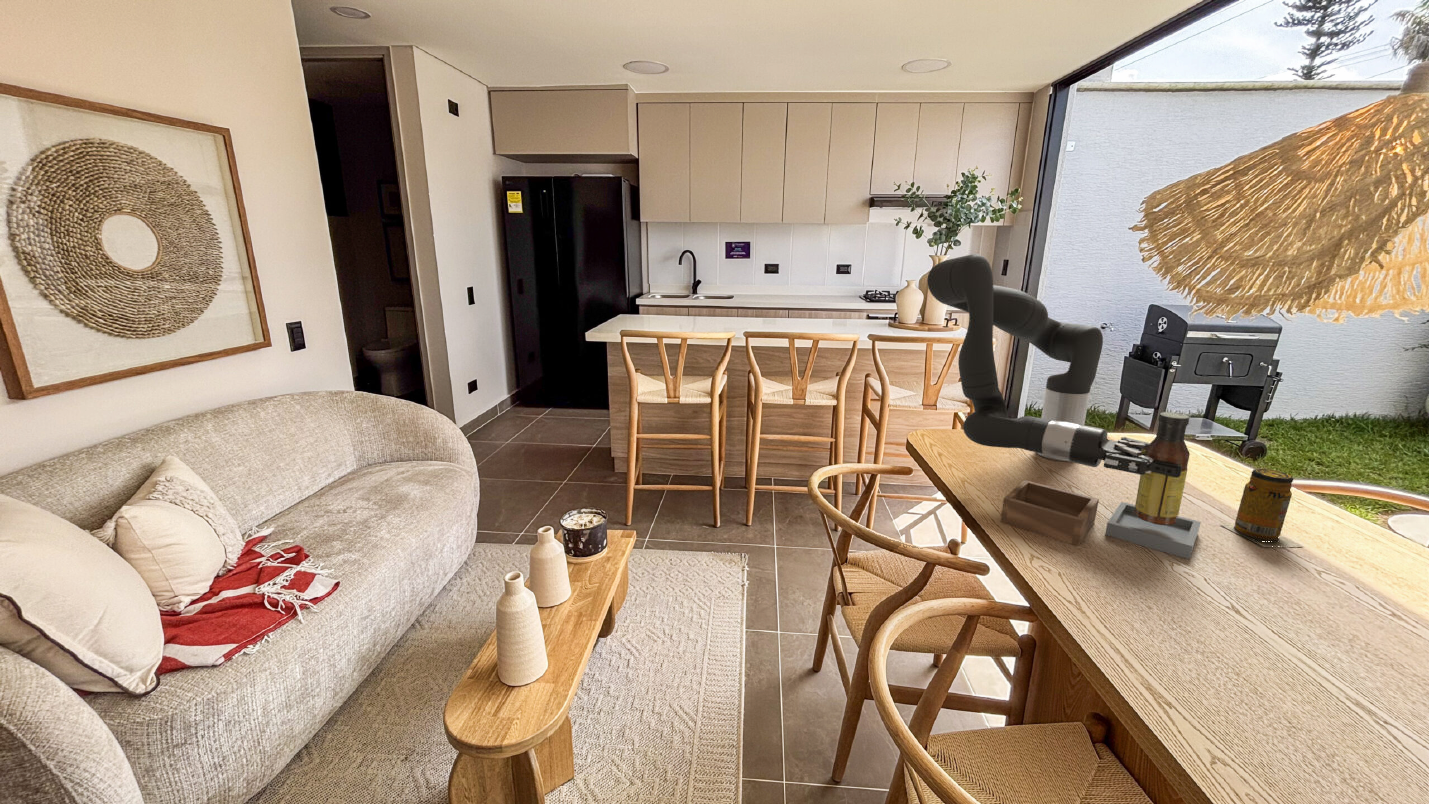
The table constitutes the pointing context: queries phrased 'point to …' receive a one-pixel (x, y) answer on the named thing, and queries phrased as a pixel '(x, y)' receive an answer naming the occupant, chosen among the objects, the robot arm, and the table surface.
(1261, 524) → the condiment
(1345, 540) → the table surface
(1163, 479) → the sauce bottle
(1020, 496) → the holder
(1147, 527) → the tray
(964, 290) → the robot arm
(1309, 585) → the table surface
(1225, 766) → the table surface
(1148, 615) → the table surface
